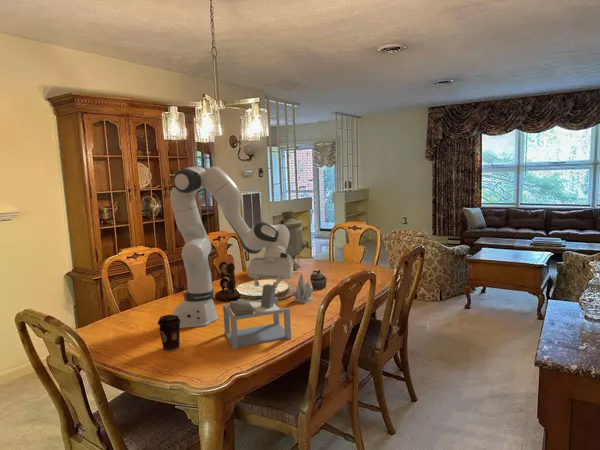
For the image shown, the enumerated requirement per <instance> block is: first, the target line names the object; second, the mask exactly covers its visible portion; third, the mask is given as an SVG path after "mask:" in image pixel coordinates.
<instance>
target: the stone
mask: <svg viewBox="0 0 600 450" xmlns="http://www.w3.org/2000/svg"><path fill="white" fill-rule="evenodd" d="M276 289H277V288H274V287H273V284H267V283H266V284H264V285H263V286H262V292H261V293H262V294H261V300H262V301H261V307H265V308H269V309H270V308H272V307H273V306H274V297H276V296H275V295H276Z"/></svg>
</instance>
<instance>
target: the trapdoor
mask: <svg viewBox="0 0 600 450" xmlns="http://www.w3.org/2000/svg"><path fill="white" fill-rule="evenodd" d="M248 302H249V301H243V300H241V301H239V300H237V301H235V300H232V301H231V300H230V301H229V305H230V308H229V309H230V311H231V312H232V314H233V315H234V316H235V317H236V316H242V315H248V314H254V313H260V312H266V311H272V310H279V309H280V307H279V306H278V307H277V306H276V305H275V304H274V306H273V307H272V308H270V309H269V308H265V307H261V302H249V303H248ZM275 314H279V315H282V314H283V312H281V313H275Z"/></svg>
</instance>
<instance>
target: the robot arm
mask: <svg viewBox="0 0 600 450" xmlns="http://www.w3.org/2000/svg"><path fill="white" fill-rule="evenodd" d="M172 184H173V188H172V189H170V192H169V195H170V198H169V199H170V205H171V208H172V213H173V216H174V219H175V220H174V221H175V224H176V226H177V230H178V231H179V232H180V235H181V236H182V238H183V240H184V243H185V244H184V245H183V247H182V250H181V258H182V260H183V265H184V269H185V270H184V271H185V273H186V281H187V291H186V290H184V291H182V294H181V295H182V296H183V300H182V301H181V302H180V303H179V304H177V306H175V308H174V310H173V313H172V315H176V316H178V318H179V319H180V329H185V328H195V327H204V326H205V327H206V326H208V325H209V324H211V323H212V322H215V321H216V320H217V319H219V317H218V314H217V312H216V306H215V302H214V300H215V294H214V292H215V291H214V288H213V281H212V272H211V269H210V263H209V259H208V258H209V255H210V254H211V252H212V242H211V240H210V238H209V236H208V233H207V231H206V228H205V227H204V225H203V222H202V218H201V214H200V212H199V208H198V203H197V201H196V194H197V193H199V194H200V192H202V191H204V190H207V191H208V192H209V193H210V194H211V195H212V197H213V198H214V200H215V201H216V203H218V205H219V207H220V209H221V211H222V213H223V216H224V218H225V219H226V221H227V222H228V223H229V224H230V226H231V228H232V229H233V231H234V233H235V234H236V235H237V237H238V239H239V241H240V245H241V246H242V248H243V250H245V252H247V253H249V254H251V255H252V254H253V255H254V254H258V253H261V251H262V250H263V248H265V251H264V254H263V257H254V258H252V259H251V260H250V263H249V265H248V266H247V270H246V274H247V275H248V277H249V278H253V280H254V283H253V286H254V287H259V286H260V282H259V281H258V280H259V279H270V280H271V279H275V280H276V281H273V283H272V285H273V287H274V288H276V289H277V288H278V285H279V284H281V282H282V281H283V280H287V281H288V280H291V279H292V278H293V276H294V269H293V264H294V262H295V261H294V262H293V260H292V258H291V256H290V255H289V254H286V253H285V250H286V249H287V247H288V243H289V237H290V233H289V230H288V228H287V227H285V226H284V225H281V224H277V225H273V224H269V223H268V222H265V221H260V222H257V223H256V224H254V225H253V226H252V228H250V227H249V226H248V224H247V223H246V221H245V219H244V218H243V217H242V215H241V212H240V205H241V204H240V203H241V200H242V193H241V190H240V188H239V187H238V184H236V183H235V181H234V180H233V179H232V178H231V177H230V176H229V175H228V174H227V173H226V172H225V171H224V170H223V169H222V168H221V167H219V166H216V165H215V166H211V167H208V168H207V167H205V166H201V165H197V166H196V165H195V166H188V167H185V168H181V169H179V170H178V171H176V172H175V173H174V175H173V177H172Z"/></svg>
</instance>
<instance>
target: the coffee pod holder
mask: <svg viewBox="0 0 600 450" xmlns="http://www.w3.org/2000/svg"><path fill="white" fill-rule="evenodd" d="M218 269H219V271H220V274H219V276H220V277H221V280H220V282H219V286H220V288H221V290H219V291H217V292H215V294H214V299H217V300H225V302H226V303H227V302H228V300H234V299H237V298H241V297H240V296H241V295H240V294H239V292H238V291H237V289H236V285H237V281H236V275H235V272H234V271H235V269H236V267H235V264H234V263H232V262H229V263H227V262H226V261H221V262H220V263H219V265H218Z"/></svg>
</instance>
